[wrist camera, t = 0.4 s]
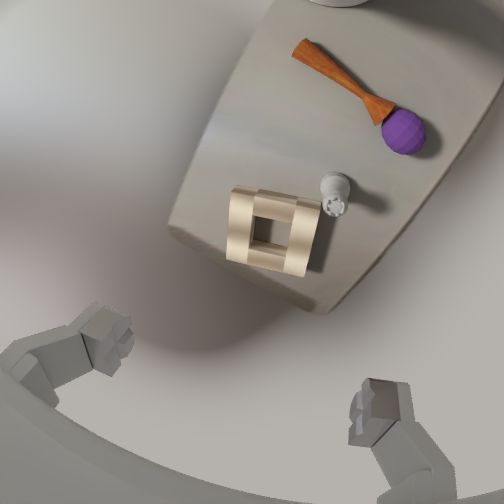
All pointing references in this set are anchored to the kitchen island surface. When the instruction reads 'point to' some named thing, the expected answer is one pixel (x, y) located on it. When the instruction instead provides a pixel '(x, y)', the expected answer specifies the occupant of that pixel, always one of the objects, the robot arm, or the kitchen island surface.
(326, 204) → the rook chess piece
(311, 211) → the square wooden frame
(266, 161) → the kitchen island surface
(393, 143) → the purple maraca
